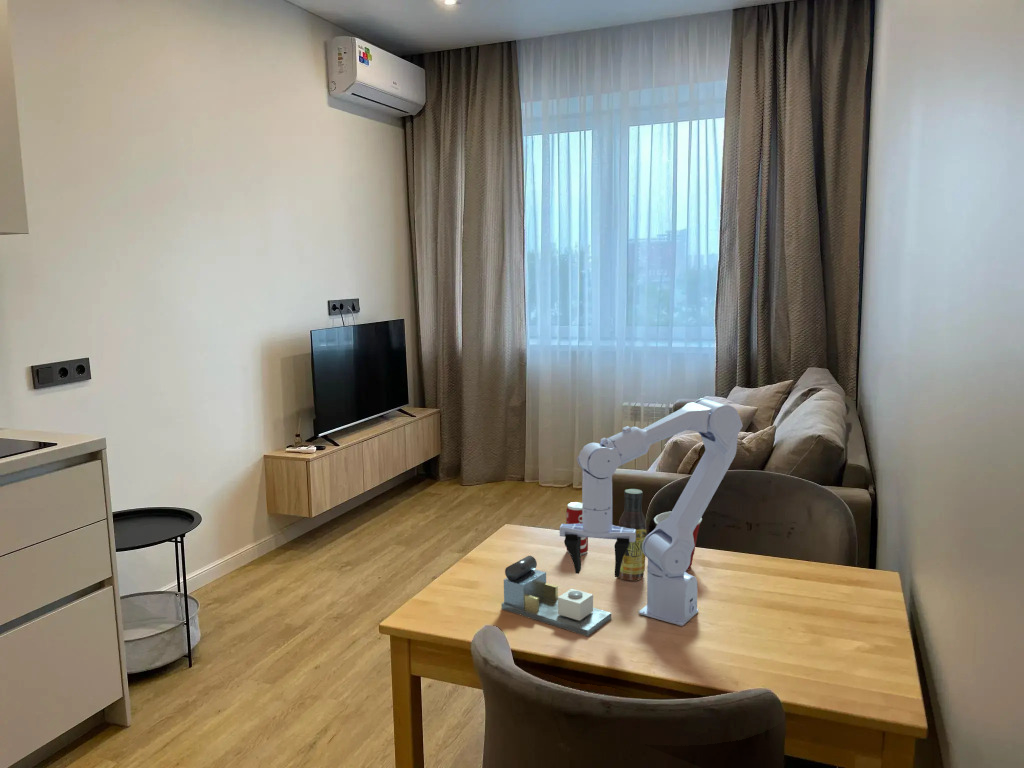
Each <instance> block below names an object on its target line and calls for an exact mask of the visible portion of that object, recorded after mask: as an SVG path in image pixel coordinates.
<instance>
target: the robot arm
mask: <svg viewBox="0 0 1024 768" xmlns="http://www.w3.org/2000/svg"><path fill="white" fill-rule="evenodd" d="M743 426H744V424H743V422H742V420H741V416H740V414H739V411H738V410H737V409H736V408H735V407H734V406H733V405H731V404H730V405H729V404H724V403H721V402H717V401H714V400H712V399H710V398H709V397H701V398H697V400H695V401H694V402H693V401H692V402H687V403H686V404H685V405H684V406H682V407H681V408H679V409H678V410H676V411H674V412H672V413H670V414H668V415H666V416H665V417H663V418H661V419H659V420H656V421H655V422H653V423H651V424H649V425H647V426H646V427H644V428H640V427H638V426H632V427H630V426H629V425H627V426H624V427H622V429H621V430H622V431H621V432H618V433H616V434H614V435H611V436H609V437H607V438H606V437H602V438H600V442H589V443H586V444H585V445H584V446H583V447H582V449H580V452H579V454H578V456H577V457H576V460H577V463H578V465H579V467H580V468H581V469H582V483H581V485H582V487H581V491H582V494H581V495H582V496H581V499H582V500H581V501H582V502H581V503H582V515H583V524H566V523H561V525H560V526H559V537H561V538H562V537H564V540H563V541H564V546H565V547H566V550H567V549H568V551H569V553H570V554H569V553H568V554H569V555H570V557H571V560H572V563H573V567H574V573H575V574H577V575H579V574H580V572H581V570H582V558H581V557H582V555H580V547H581V537H588V538H593V539H603V540H605V539H606V540H616V541H615V543H614V546H613V547H614V558H615V561H614V562H615V563H614V577H615V578H619V575H620V568H621V563H622V560H623V556H624V554H625V552H626V550H627V548H628V546H629V543H630V542H635V540H636V529H629V528H623V527H619V525H614V524H613V475H614V474H615V472H616V471H617V469H618V467H621V466H623V465H625V464H627V463H629V462H631V461H633V460H635V459H636V460H637V459H638V458H640V457H641V456H644V455H647V454H648V452H649V450H650V447H651V446H652V445H653V444H656V443H658V442H660V441H663V440H666V439H668V438H670V437H674V436H675V435H678V434H681V433H683V432H686V431H691V432H693V431H694V432H697V433H698V434H699V436H700V437H701V440H702V443H703V446H704V449H705V450H704V453H703V455H702V456H701V458H700V460H699V461H698V463H697V465H696V467H695V469H694V471H693V473H692V474H691V476H690V478H689V480H688V482H687V483H686V485H685V487H684V489H683V490H682V491H681V492H682V493H680V496H679V497H678V499H677V501H676V503H675V505H674V507H673V508H672V512H671V514H670V516H669V517H668V519H666V520H664V521H661V522H659V523H658V524H657V525H655V528H654V529H653V530H652V531H651V532H649V533H648V534H646V537H645V539H644V541H643V545H642V549H643V553H644V555H645V558H647V567H646V569H647V571H646V572H647V576H646V580H647V581H646V582H647V583H646V585H647V586H646V587H647V588H646V590H647V591H646V605H645V606H644V607H642V608H641V609H639V611H638V614H639V615H641V616H645V617H648V618H652V619H656V620H660V621H664V622H667V623H670V624H673V625H677V626H680V627H683V626H684V625H686V624H687V622H689V621H690V620H691V619H693V617H694V616H696V614H697V613H699V609H698V580H697V578H696V576H693V575H692V574H690V573H688V572H687V571H688V570H687V569H688V567H689V565H690V559H691V553H692V551H693V549H694V547H695V548H696V546H695V544H694V538H693V531H694V529H695V528H696V526H697V524H698V522H699V520H700V519H701V518H702V517H703V515H704V513H705V511H706V509H707V508H708V506H709V504H710V502H711V501H712V498H713V496H714V495H715V493H716V491H717V490H718V487H719V486H720V484H721V482H722V480H724V477H725V475H726V474H727V472H728V470H729V469H730V467H731V464H732V463H733V461H734V458H736V454H737V451H738V450H737V449H738V439H739V434H740V432H741V430H742V428H743ZM686 570H687V571H686Z"/></svg>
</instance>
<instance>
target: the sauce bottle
mask: <svg viewBox="0 0 1024 768" xmlns="http://www.w3.org/2000/svg"><path fill="white" fill-rule="evenodd" d="M623 494H624V495H623V497H624V507H623V508H624V511H622V514H621V515H620V517H619V520H618V526H619V527H623V528H629V529H636V540H635V542H630V543H629V546H628V548H627V550H626V552H625V554H624V556H623V560H622V563H621V568H620V575H619V577H618V578H619V579H621V580H624V581H629V582H634V581H635V582H636V581H639V580H642V579H643V578H644V575H645V573H644V572H645V571H646V556H645V555H644V553H643V549H642V545H643V541H644V539H645V537H646V536H647V526H646V525H647V524H646V517H645V515H644V513H643V508H642V503H643V498H644V496H643V494H644V492H643V491H642V490H641V489H638V488H629V489H625V490H624V493H623Z"/></svg>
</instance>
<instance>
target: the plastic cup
mask: <svg viewBox="0 0 1024 768" xmlns="http://www.w3.org/2000/svg"><path fill="white" fill-rule="evenodd" d="M671 512H672V511H671V510H670V511H665V512H662V513H660V514H657V515H656V516H655V517H654V518H653V521H654V524H655V526H657V524H658V523H659V522H661V521H664V520H666V519H668V517H669V516H670V514H671ZM702 521H703V518H702V517H701V519H700V520H699V522H698V524H697V526H696V528H695V529H694V531H693V538H694V544H695V547H694V549H693V551H692V553H691V559H690V565H689V567H688V569H687V570H686V571H685V572H687V571H688V570H690V569H691V567H692V565H693V559H694V555H695V550H696V546H697V540H698V534H699V529H700V525H701V522H702Z"/></svg>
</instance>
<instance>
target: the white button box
mask: <svg viewBox="0 0 1024 768" xmlns="http://www.w3.org/2000/svg"><path fill="white" fill-rule="evenodd" d="M593 608H594V594H592V593H588V592H585V591H582V590H579V589H575V588H570V589H568V590H567V591H565V592H564V593H562V594H560V595H558V614H559V615H562V616H566V617H569V618H572V619H575V620H579V621H580V620H582V619H583V618H584V617H586V616H587V615H589V614H590V613H591V612H593Z"/></svg>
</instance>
